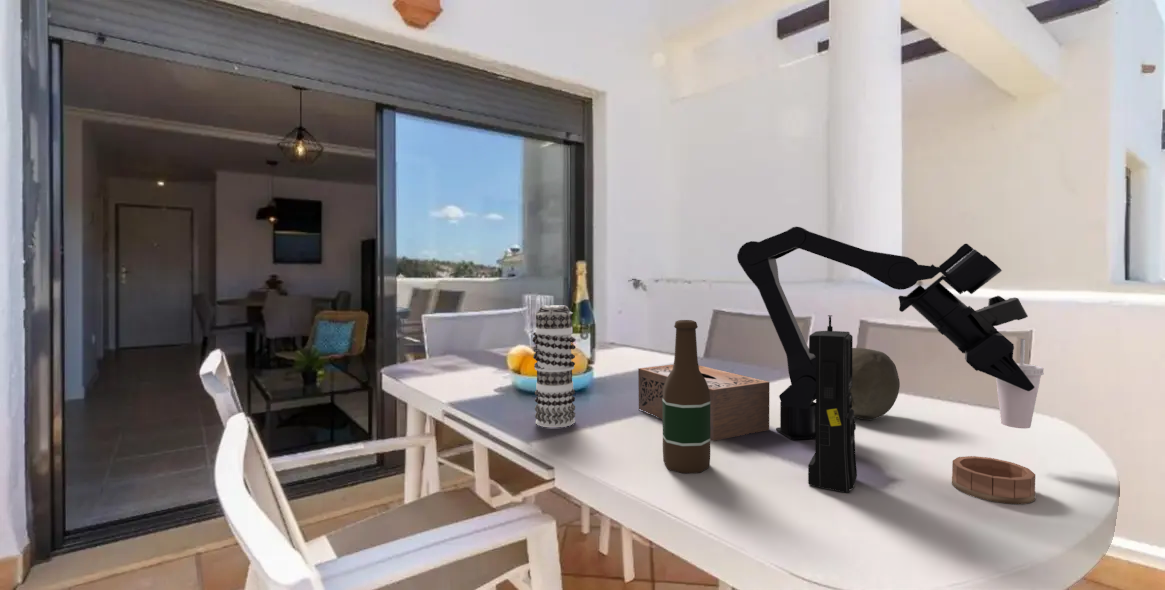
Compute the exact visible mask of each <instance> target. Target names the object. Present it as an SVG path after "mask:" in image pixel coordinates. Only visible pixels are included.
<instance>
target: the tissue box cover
mask: <svg viewBox="0 0 1165 590" xmlns="http://www.w3.org/2000/svg"><path fill="white" fill-rule="evenodd" d="M673 365H674V364H669V365H668V364H665V365H658V366H649V367H640V368H639V367H638V368H637V369H638V371H637V372H638V374H637V375H638V376H637V377H638V380H637V381H638V410H639V409H641V410H643V411H646V412H648V413H650V414H653V415H655V416H657V417H659V418H661V419H663V387H664V384H665V381H666V378H667V377H668V375H669V374H670V372H671V371H672V369H673ZM699 371H700V372H701V374H702V375H703V377H704V378H705V380H706V382H707V385H708V388H709V391H710V441H713V442H715V441H721V440H725V439H728V438H729V439H730V438H735V436H736V437H741V436H745V434H746V435H749V433H751V434H755V432H756V433H761V432H767V431H770V381H767V380H763V379H758V378H754V377H750V376H745V375H742V374H737V373H733V372H728V371H724V370H721V369H720V370H719V369H716V368H712V367H708V366H703V365H699ZM659 418H658V419H659ZM661 419H660V420H661ZM740 435H741V436H740Z"/></svg>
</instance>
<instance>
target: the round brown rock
mask: <svg viewBox="0 0 1165 590" xmlns="http://www.w3.org/2000/svg"><path fill="white" fill-rule="evenodd" d="M900 387H901V385H900V377H899V372H898V368H897V367H896V364H895V362H894V361H893V359H891V357H890V356H889V355H887V354H886V353H885V352H883V351H880V350H875V349H871V348H863V347H853V349H852V388H851V389H850V392H851V393H852V408H851V409H852V410H854V418H856V419H860V420H863V421H864V420H867V421H870V420H876V419H878V418H881V417H883V416H884V415H885V414H887V413H888V412H889V411H890V410H891V409H892V408H893V406H894V405H895V403H896V401H897V399H898V396H899V392H900Z"/></svg>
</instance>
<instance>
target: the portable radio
mask: <svg viewBox="0 0 1165 590" xmlns="http://www.w3.org/2000/svg"><path fill="white" fill-rule="evenodd" d="M827 317H828V325H827V327H826V329H827V330H818V331H814V332H813V333H811V334H809V335H808V337H809V338H808V348H809V353H811V354H814V355H815V357H816V399H815V403H816V438H815V441H814V445H815V447H814V448H815V449H814V451H815V452H814V453H813V456H812V458H811V460H810V461H809V463H808V465H807V466H808V467H807V468H808V470H807V472H808V473H807V483H808V485H810V486H813V487H816V488H820V489H825V490H829V491H830V490H831V491H836V492H841V493H846V494H847V493H848V494H849V493H850V491H851V490H853V489H854V487H855V485H856V482H857V477H858V470H857V469H858V468H857V460H856V459H857V458H856V438H855V436H856V435H855V431H856V427H857V424H856V419H855V417H854V410H852V409H851V408H852V393H851V392H850V389H851V388H852V349H853V348H854V347H853V344H854V343H853V342H854V341H853V335H852V334H851V333H850V332H849V331H842V330H841V331H839V330H833V326H832V317H833V315H830V314H829V315H827Z"/></svg>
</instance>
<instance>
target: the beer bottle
mask: <svg viewBox="0 0 1165 590" xmlns="http://www.w3.org/2000/svg"><path fill="white" fill-rule="evenodd" d="M697 323H698V322H696V321H695V320H690V319H680V320H676V321H675V322H674V325H673V327H674V328H675V340H674V341H675V344H674V358H673V359H674V360H673V364H672V365H673V369H672V371H671V372H670V374H669V375H668V377H667V378H666V381H665V384H664V387H663V420H662V459H663V462H664V464H665V465H664V466H665V467H666V469H667V470H669V471H673V472H676V473H681V474H700V473H702V472H704V471H706V470H707V469H709V468H710V466H711V464H710V463H711V440H710V391H709V388H708V385H707V382H706V380H705V378H704V377H703V375H702V374H701V372H700V371H699V366H700V365H699V360H698V359H699V358H698V345H697V344H698V343H697V332H696V331H697V330H696V329H698V324H697Z"/></svg>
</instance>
